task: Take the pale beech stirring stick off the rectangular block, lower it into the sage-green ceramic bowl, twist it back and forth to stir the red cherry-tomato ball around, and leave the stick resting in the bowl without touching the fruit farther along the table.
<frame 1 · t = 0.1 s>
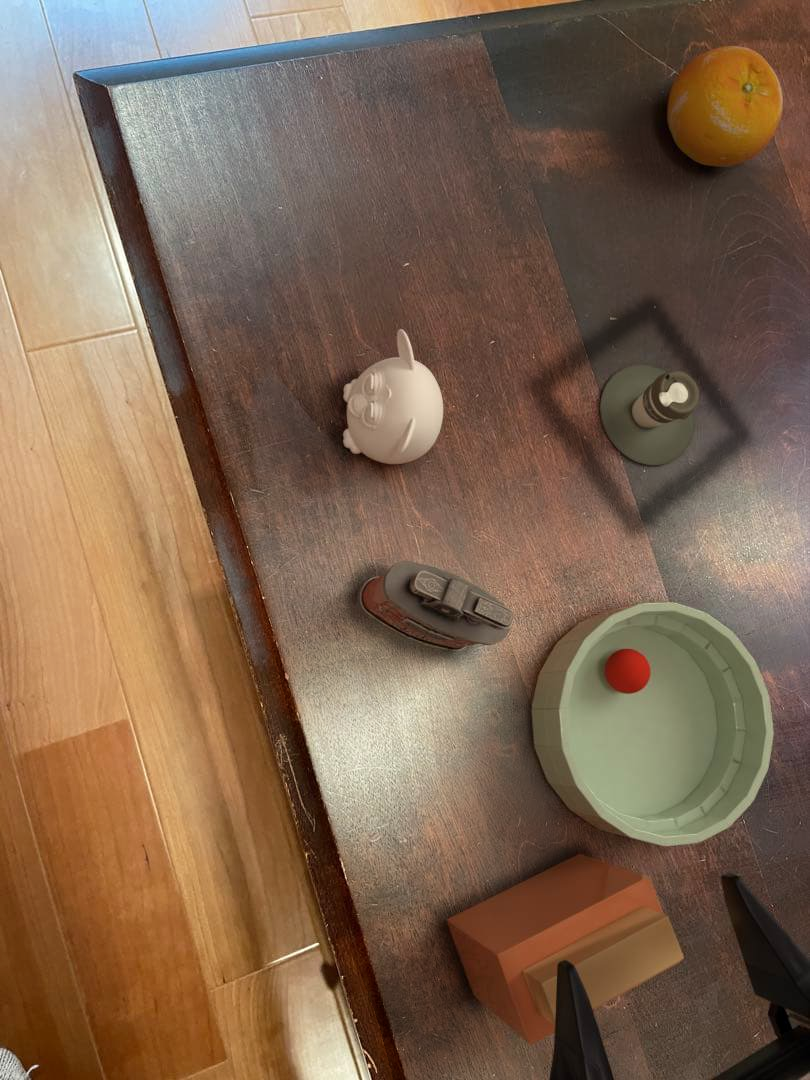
hand: (650, 917, 43), 18 cm above the table, tool horizontal, fingers open, 9 cm apart
lighter: (413, 615, 61), on the table
fruit: (698, 135, 75), on the table
rectangular block: (528, 922, 60), on the table
figurine: (385, 421, 63), on the table
tomato ball: (627, 671, 62), point 2 cm above the table, touching bowl
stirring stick: (592, 958, 51), point 9 cm above the table, touching rectangular block
bowl: (631, 720, 64), on the table
coffee cup: (641, 413, 69), on the table
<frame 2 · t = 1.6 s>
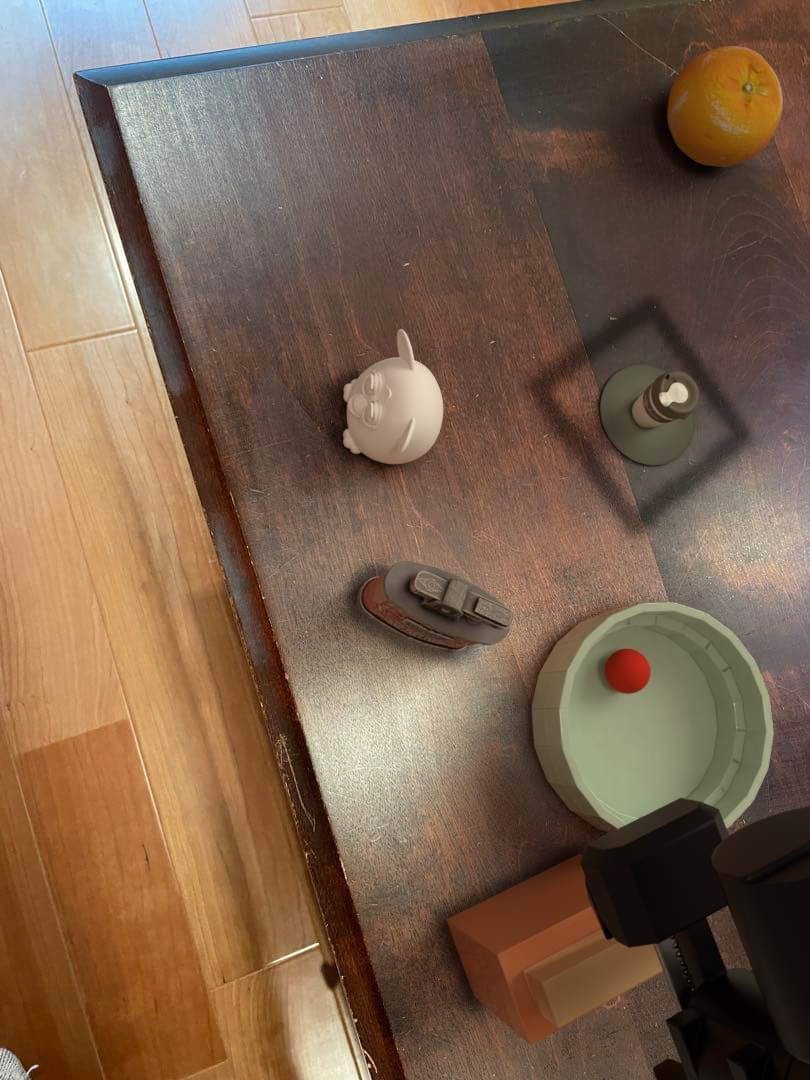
hand: (628, 978, 47), 13 cm above the table, tool pointing down, fingers open, 9 cm apart
nothing on the table moved.
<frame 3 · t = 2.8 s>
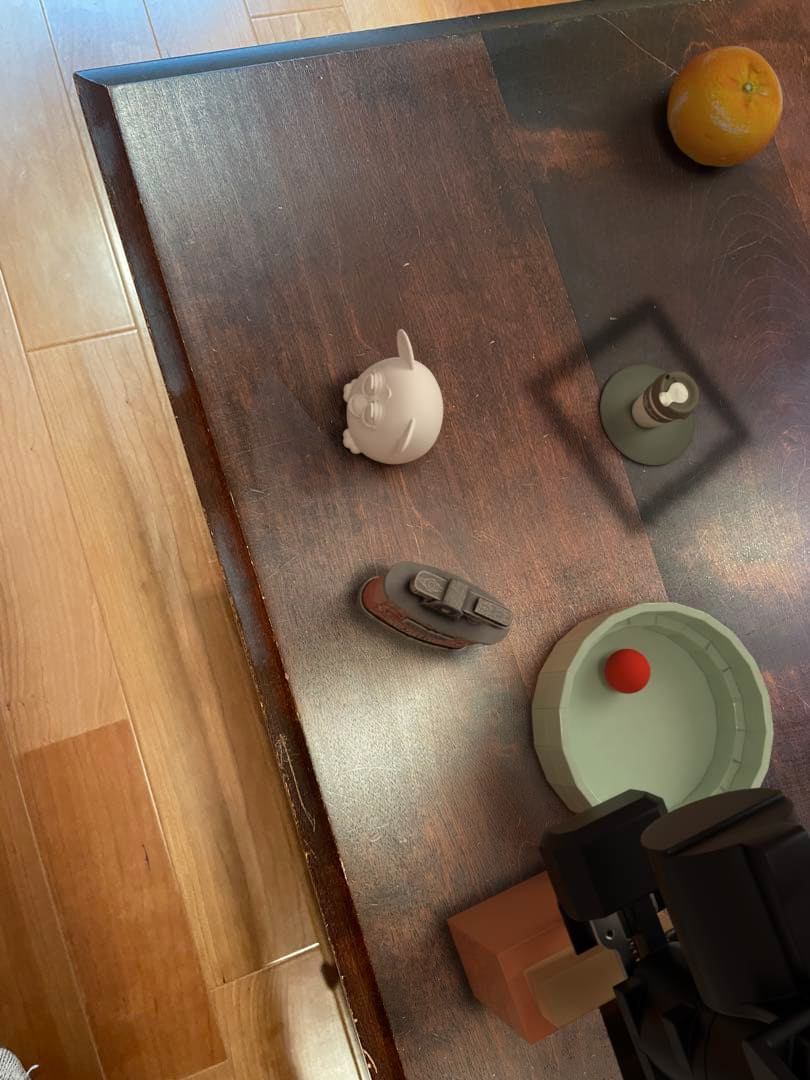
hand: (589, 957, 51), 9 cm above the table, tool pointing down, fingers closed on rectangular block, 5 cm apart
nothing on the table moved.
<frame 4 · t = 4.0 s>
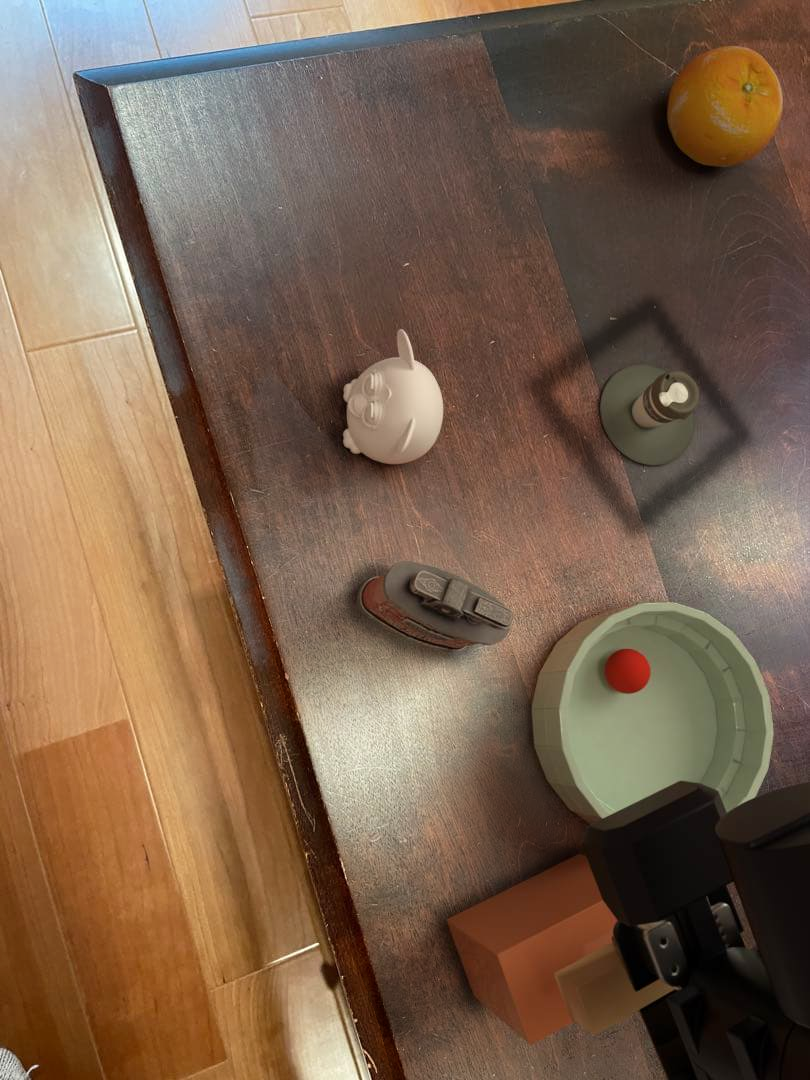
hand: (630, 961, 48), 13 cm above the table, tool pointing down, fingers closed on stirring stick, 2 cm apart
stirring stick: (627, 960, 48), point 12 cm above the table, touching gripper
everything else where it was.
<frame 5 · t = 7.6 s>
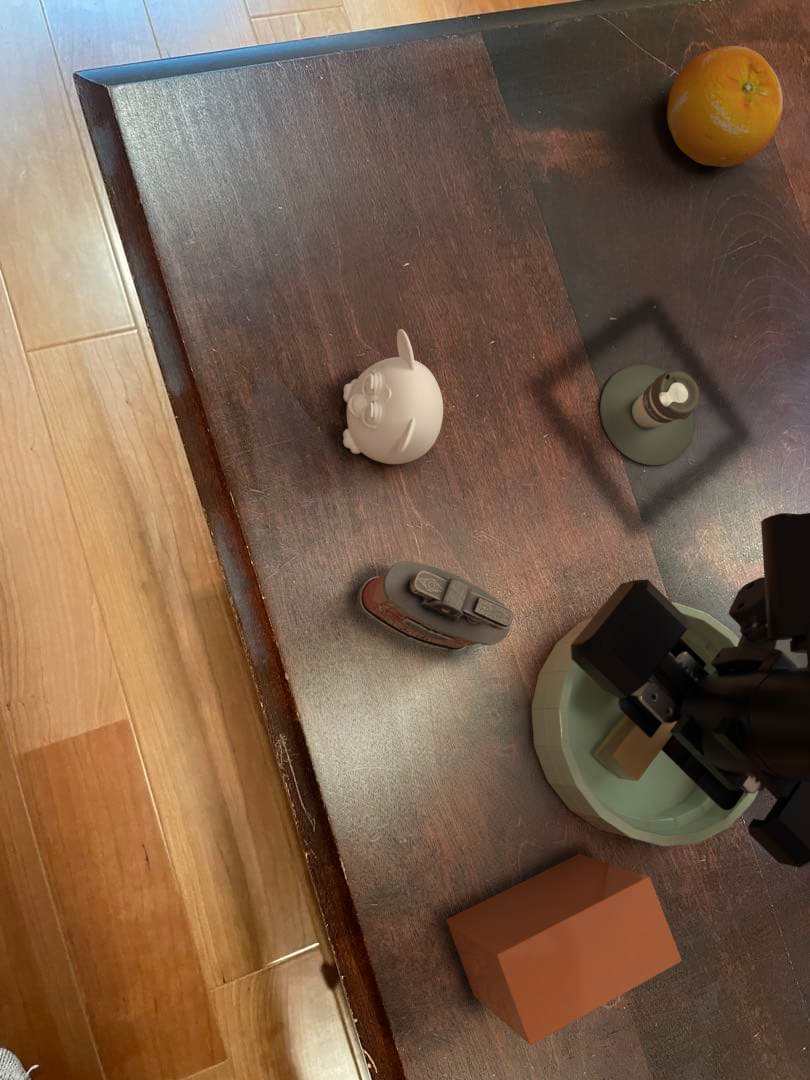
hand: (642, 721, 62), 2 cm above the table, tool pointing down, fingers closed on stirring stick, 2 cm apart
tomato ball: (623, 671, 62), point 2 cm above the table, tilted 11°, touching bowl
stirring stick: (640, 721, 63), point 1 cm above the table, touching gripper
everything else where it was.
when the fingers open (1 cm above the table, at t = 11.3 s): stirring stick stays where it is, resting on bowl.
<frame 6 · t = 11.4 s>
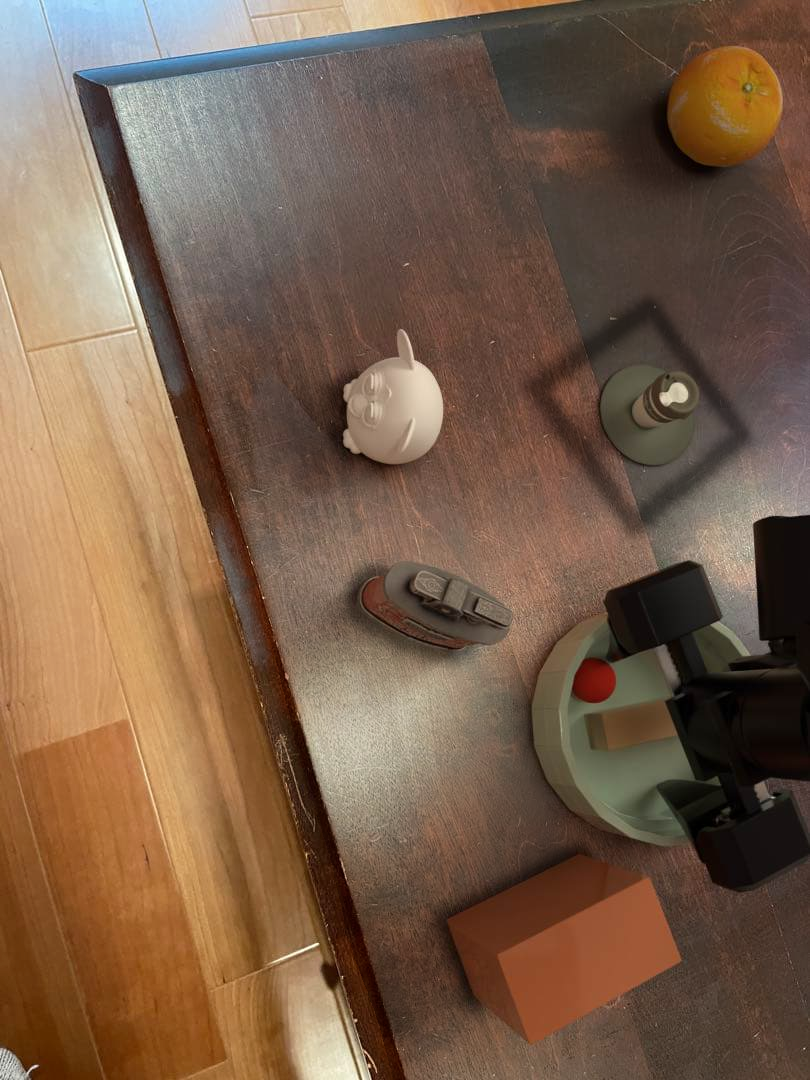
hand: (637, 720, 63), 1 cm above the table, tool pointing down, fingers open, 9 cm apart
tomato ball: (593, 680, 61), point 2 cm above the table, tilted 94°, touching bowl
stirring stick: (639, 720, 63), point 1 cm above the table, touching bowl
everything else where it was.
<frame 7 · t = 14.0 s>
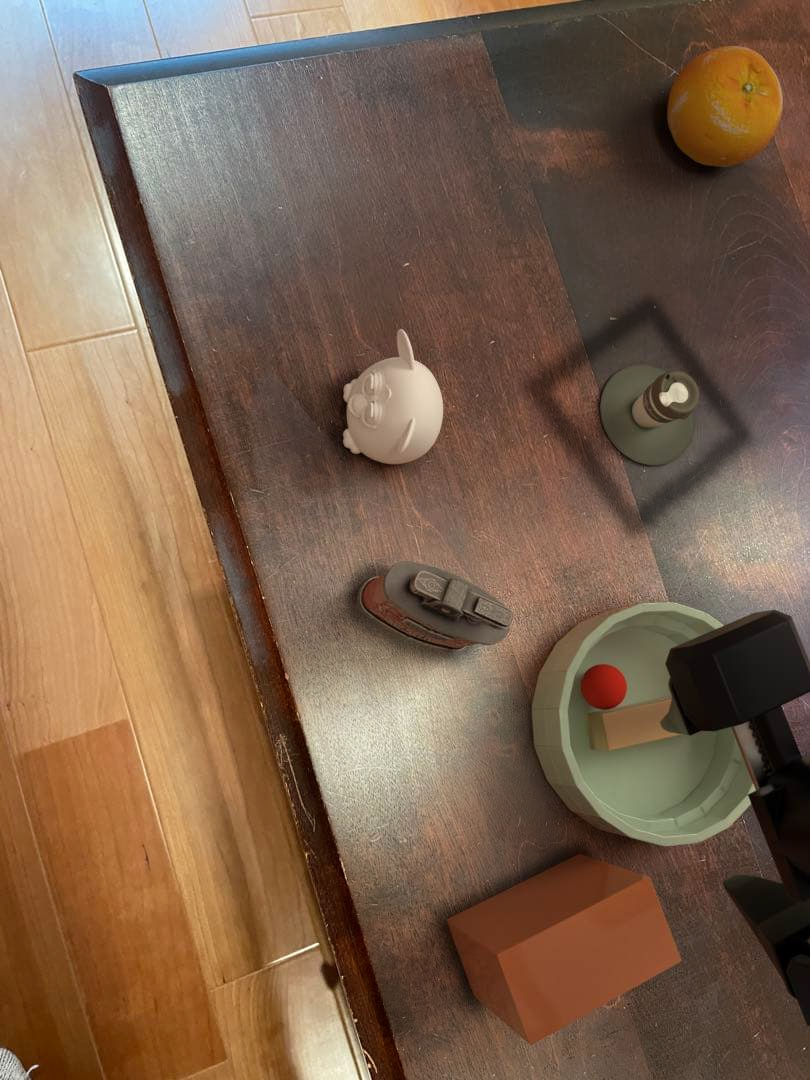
hand: (699, 800, 51), 12 cm above the table, tool pointing down, fingers open, 9 cm apart
tomato ball: (603, 686, 62), point 2 cm above the table, tilted 65°, touching bowl
everything else where it was.
at the end: tomato ball moved 2.1 cm from its start; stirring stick inside the target area in the bowl (0.3 cm from its centre), point 0.6 cm above the bowl's base; fruit moved 0.2 cm from its start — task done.
